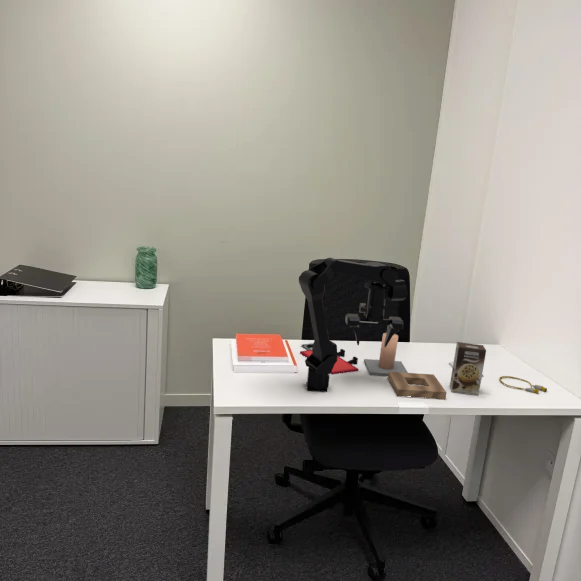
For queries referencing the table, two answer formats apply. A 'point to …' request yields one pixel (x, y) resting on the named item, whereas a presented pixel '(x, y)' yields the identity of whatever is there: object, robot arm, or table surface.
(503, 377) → the extension cord
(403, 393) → the pocket board
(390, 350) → the plug
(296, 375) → the table surface
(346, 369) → the red board with handle
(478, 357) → the coffee box
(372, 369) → the mat
